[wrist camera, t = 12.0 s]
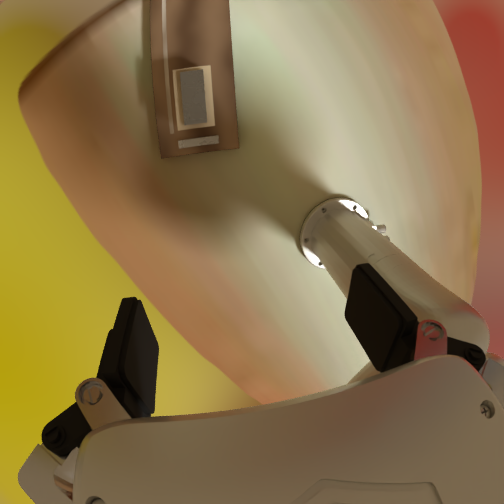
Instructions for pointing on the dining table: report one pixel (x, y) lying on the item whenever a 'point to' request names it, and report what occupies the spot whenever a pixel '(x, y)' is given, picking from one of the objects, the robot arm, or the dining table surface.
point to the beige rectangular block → (193, 97)
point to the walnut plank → (193, 55)
